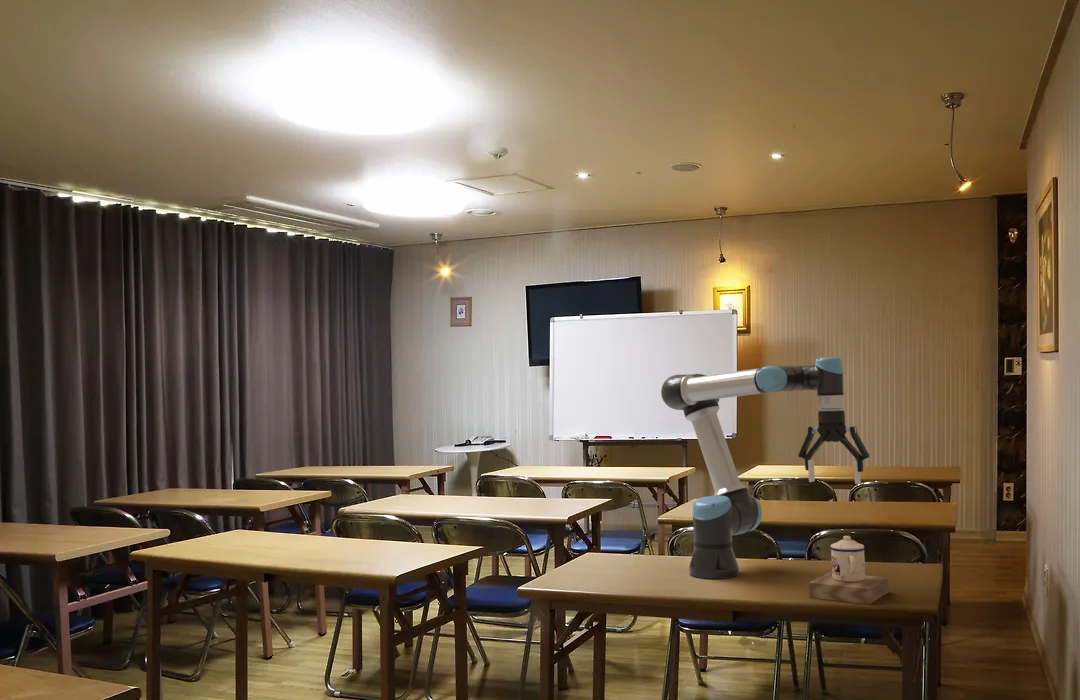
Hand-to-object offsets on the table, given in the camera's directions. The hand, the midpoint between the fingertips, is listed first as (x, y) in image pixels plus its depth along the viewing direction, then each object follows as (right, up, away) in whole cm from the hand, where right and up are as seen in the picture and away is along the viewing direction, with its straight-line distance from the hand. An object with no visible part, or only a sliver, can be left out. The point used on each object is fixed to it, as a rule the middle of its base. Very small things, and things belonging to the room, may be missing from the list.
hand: (834, 482), depth 263 cm
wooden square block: (-2, -28, -18) cm, 33 cm away
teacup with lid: (-2, -24, -18) cm, 30 cm away
